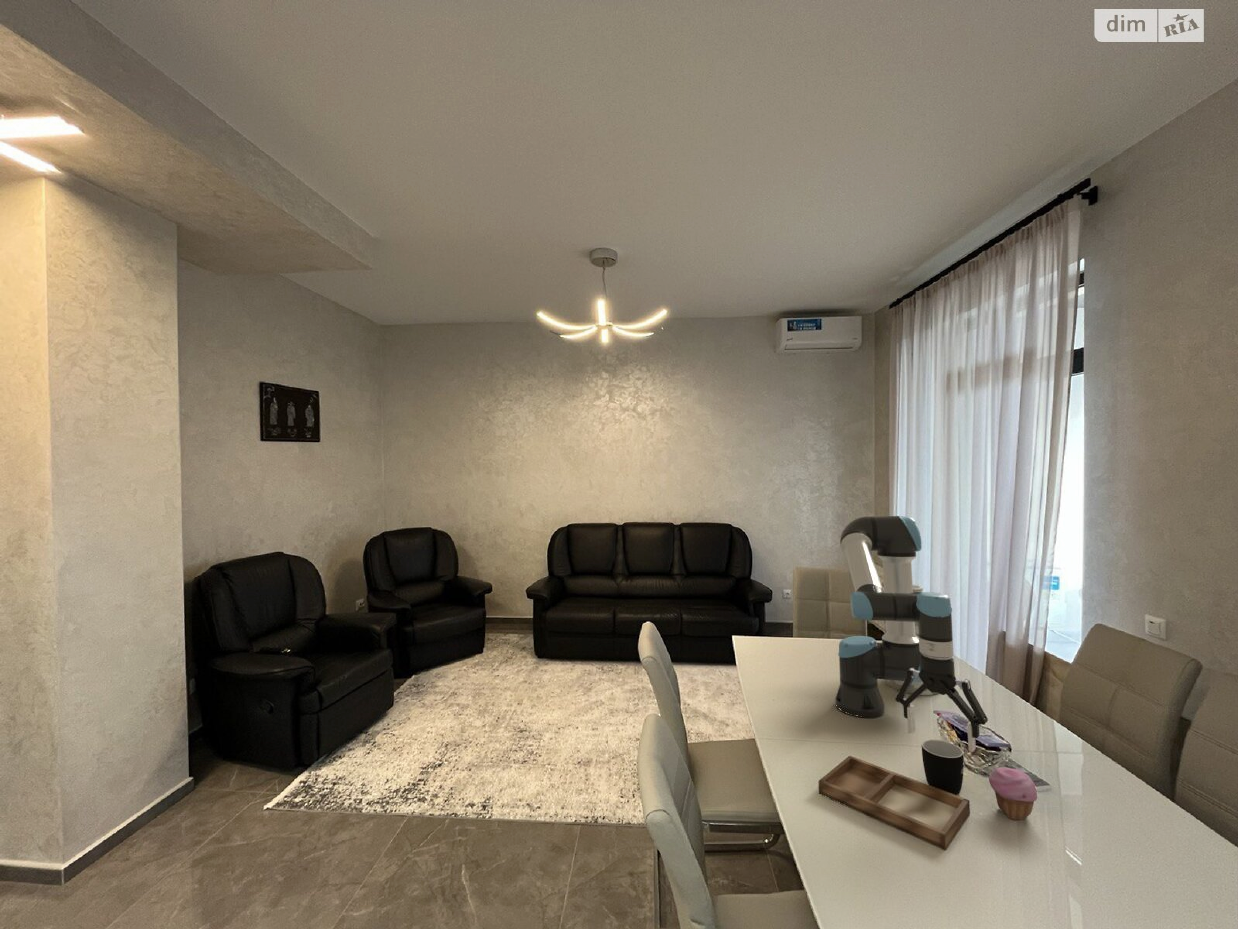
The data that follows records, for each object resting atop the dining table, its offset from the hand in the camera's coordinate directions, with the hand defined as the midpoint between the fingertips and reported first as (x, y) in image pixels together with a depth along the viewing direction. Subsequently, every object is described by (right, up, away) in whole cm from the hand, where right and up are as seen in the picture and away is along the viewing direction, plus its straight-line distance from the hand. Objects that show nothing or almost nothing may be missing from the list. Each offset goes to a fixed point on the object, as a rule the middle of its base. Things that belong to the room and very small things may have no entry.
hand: (940, 740), depth 133 cm
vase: (+27, -13, +63) cm, 70 cm away
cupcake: (+10, -11, -12) cm, 19 cm away
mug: (+1, -12, 0) cm, 12 cm away
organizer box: (-16, -12, -7) cm, 21 cm away
